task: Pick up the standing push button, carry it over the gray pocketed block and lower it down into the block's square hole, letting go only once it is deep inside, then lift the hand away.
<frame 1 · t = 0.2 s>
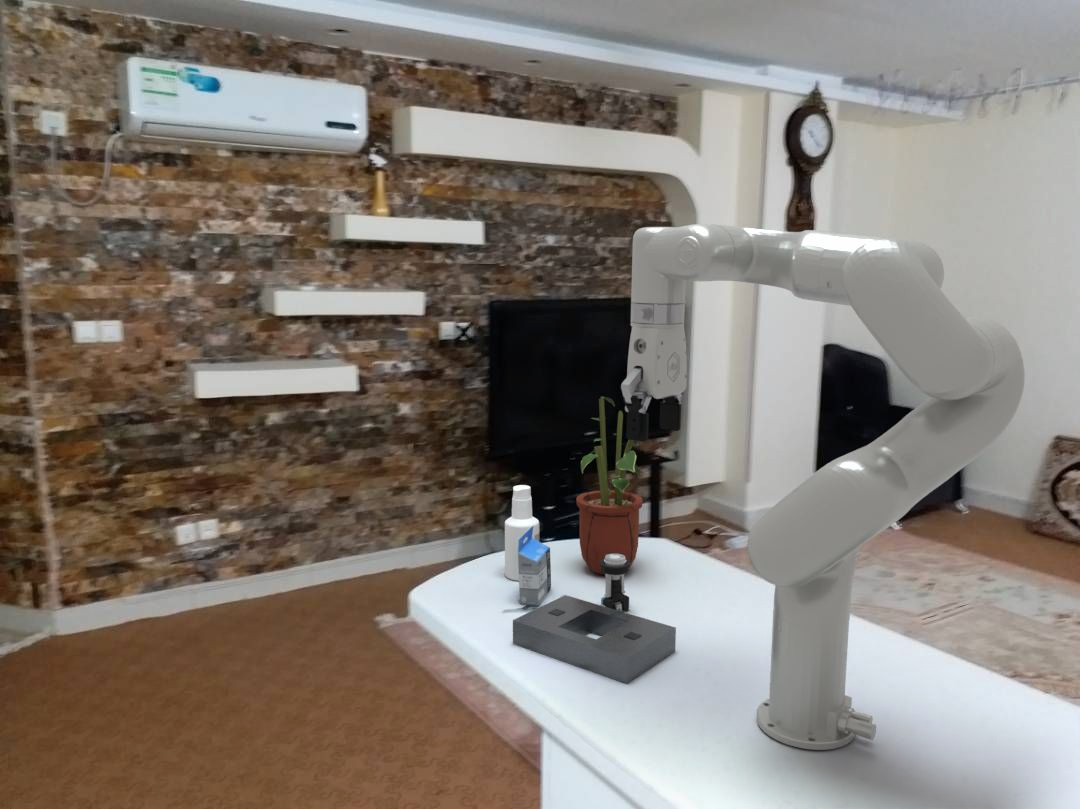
hand: (653, 434, 126), 36 cm above the table, fingers open, 9 cm apart
spray bottle: (522, 576, 173), on the table
label tape box: (535, 597, 162), on the table
gray pocketed block: (593, 647, 140), on the table
push button: (611, 612, 155), on the table
potted plant: (620, 572, 175), on the table
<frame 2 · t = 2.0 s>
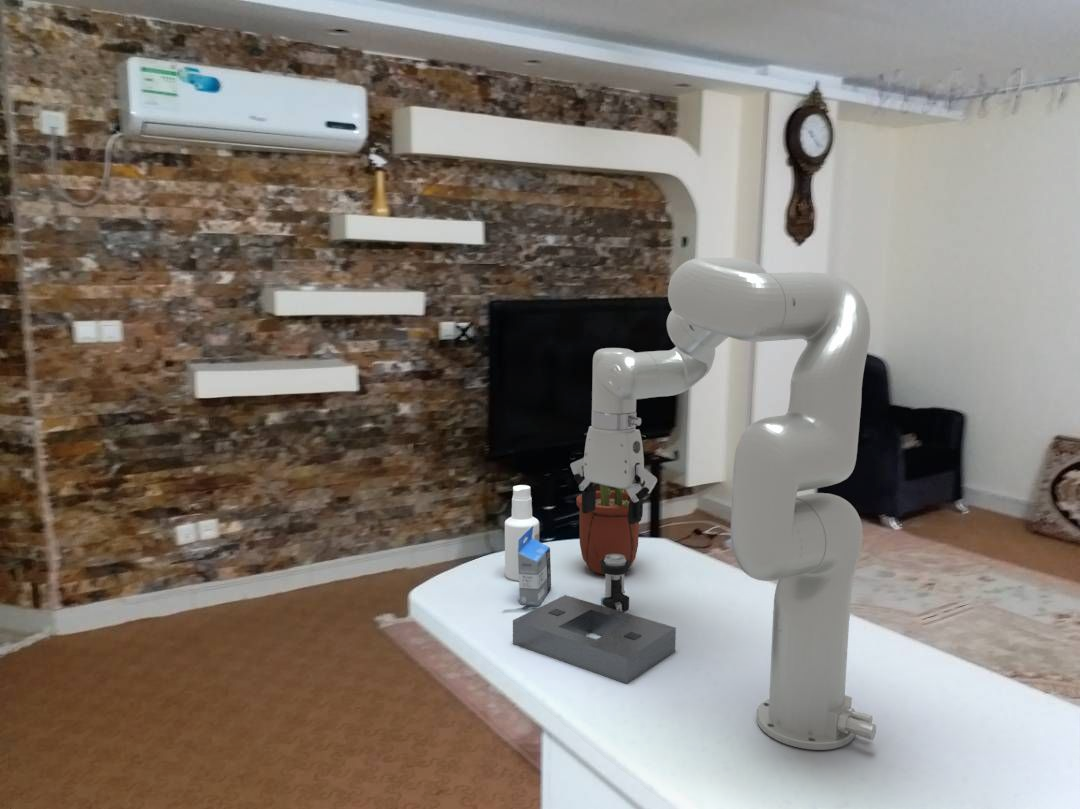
hand: (611, 516, 152), 17 cm above the table, fingers open, 9 cm apart
nothing on the table moved.
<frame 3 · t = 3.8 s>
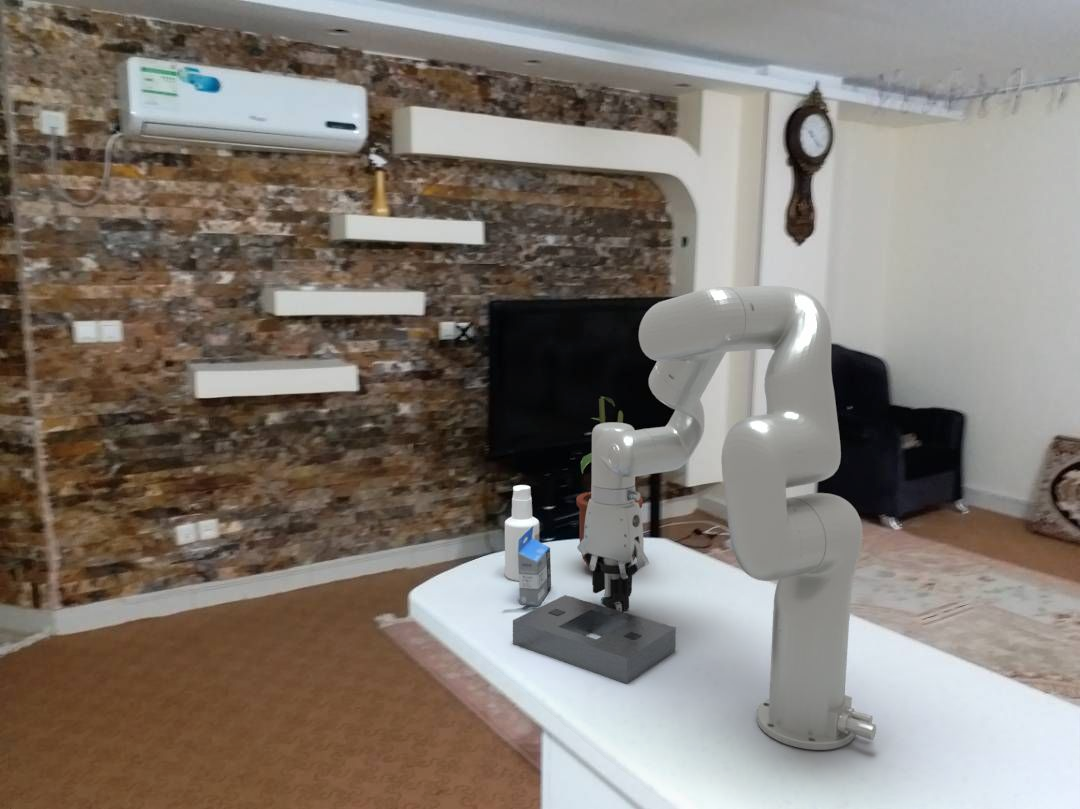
hand: (611, 593, 154), 3 cm above the table, fingers closed on push button, 4 cm apart
push button: (611, 612, 155), on the table, touching gripper
everything else where it was.
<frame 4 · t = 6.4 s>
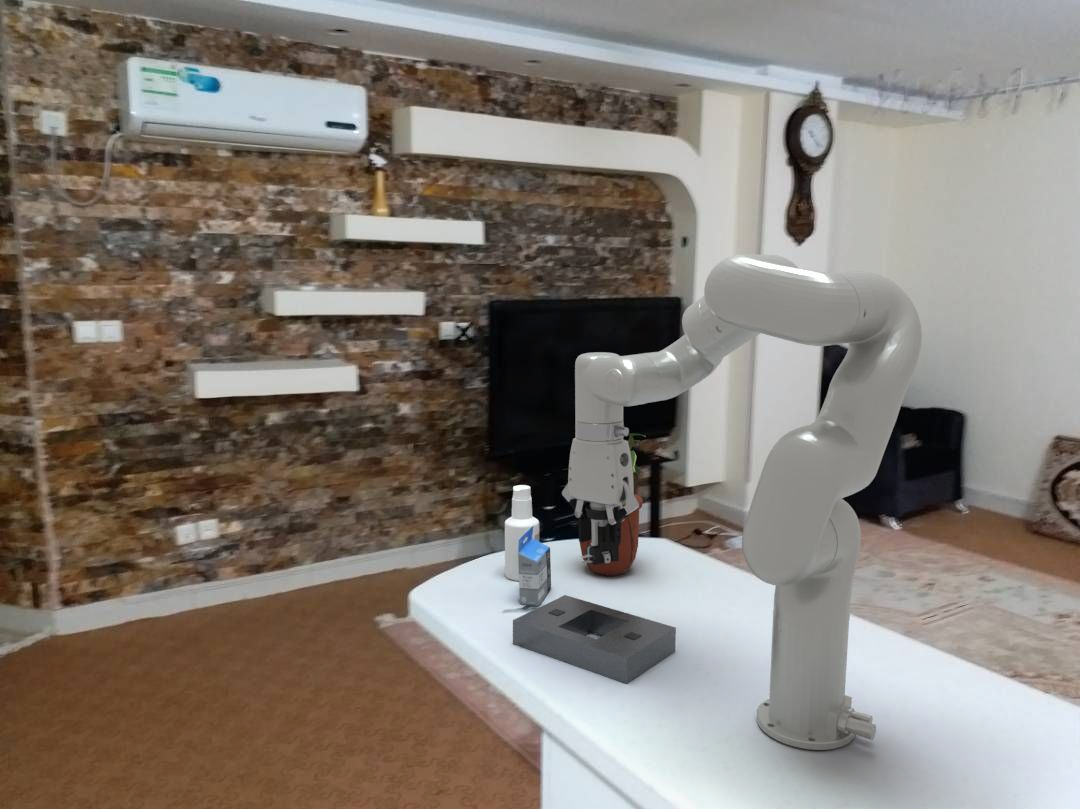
hand: (599, 542, 140), 17 cm above the table, fingers closed on push button, 4 cm apart
push button: (599, 563, 140), point 13 cm above the table, touching gripper
everything else where it was.
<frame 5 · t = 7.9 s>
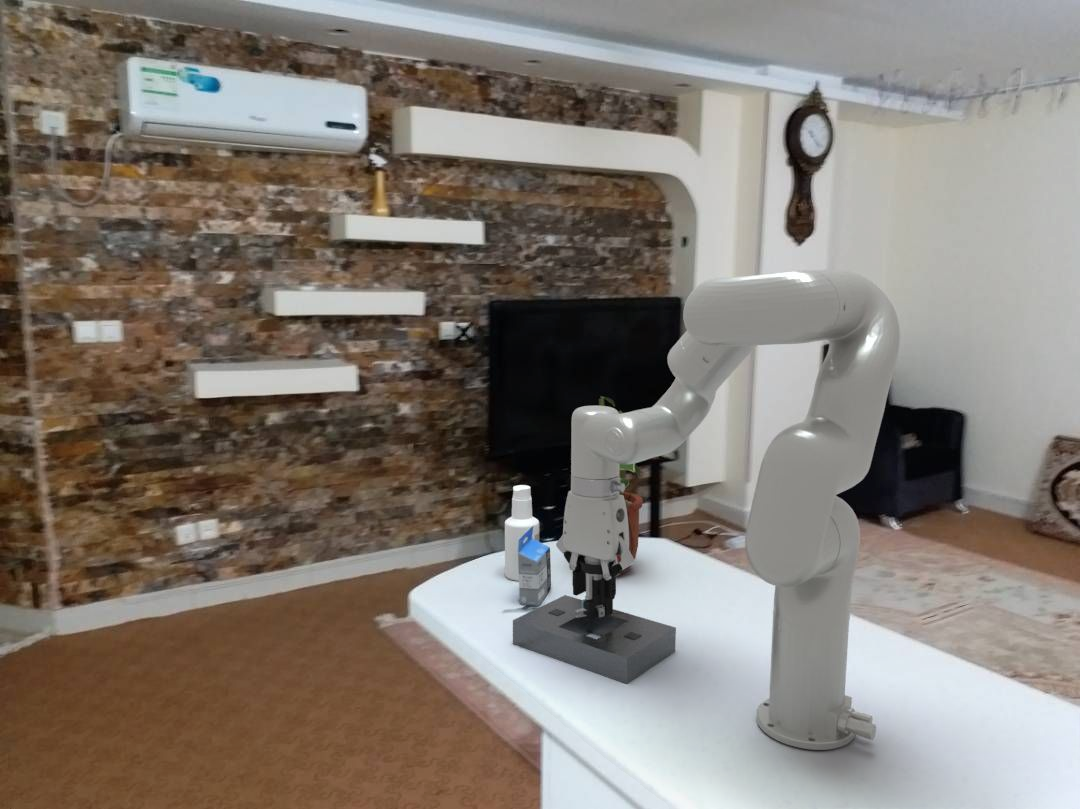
hand: (593, 595, 139), 9 cm above the table, fingers closed on push button, 4 cm apart
push button: (593, 616, 139), point 5 cm above the table, touching gripper
everything else where it was.
when the fingers open (5 cm above the table, at t = 9.0 s): push button drops 1 cm, on the table.
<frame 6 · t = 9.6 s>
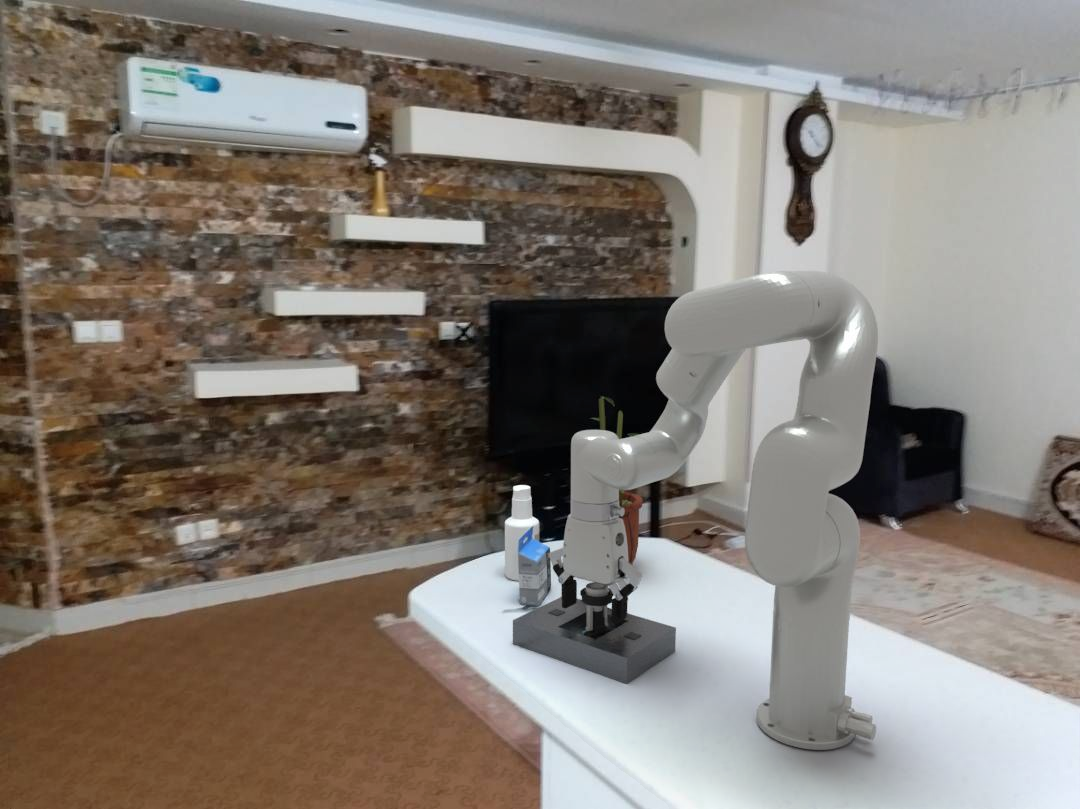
hand: (593, 613, 139), 6 cm above the table, fingers open, 9 cm apart
push button: (593, 647, 140), on the table
everything else where it was.
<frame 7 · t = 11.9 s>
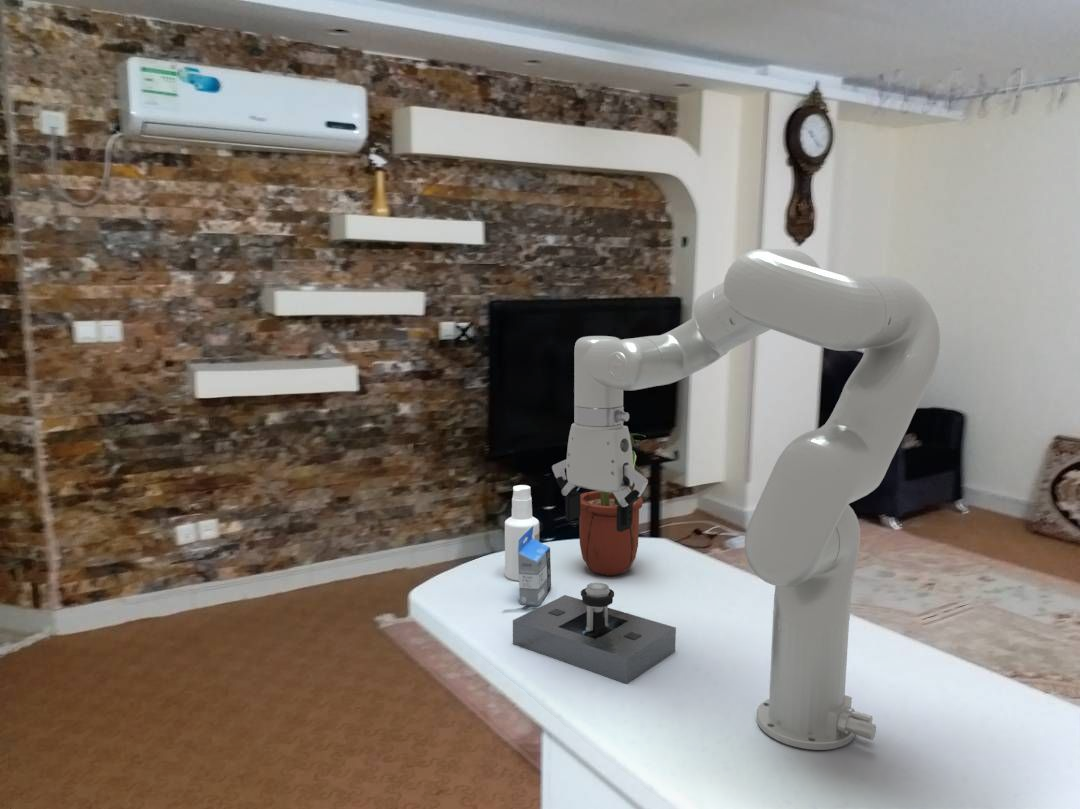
hand: (598, 524, 137), 20 cm above the table, fingers open, 9 cm apart
nothing on the table moved.
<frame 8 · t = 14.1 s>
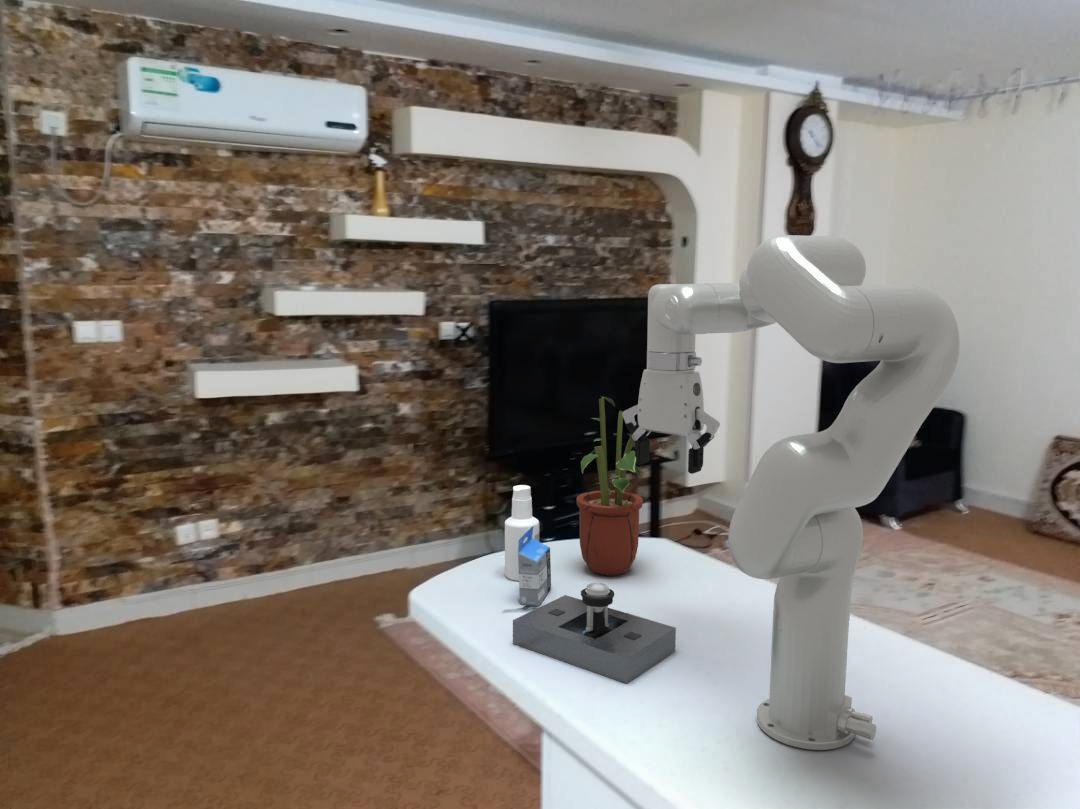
hand: (668, 467, 141), 28 cm above the table, fingers open, 9 cm apart
nothing on the table moved.
at the end: push button 0.3 cm off-centre on the gray pocketed block, point 0.0 cm above the gray pocketed block's base; push button tilted 0°; the gripper is holding nothing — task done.
